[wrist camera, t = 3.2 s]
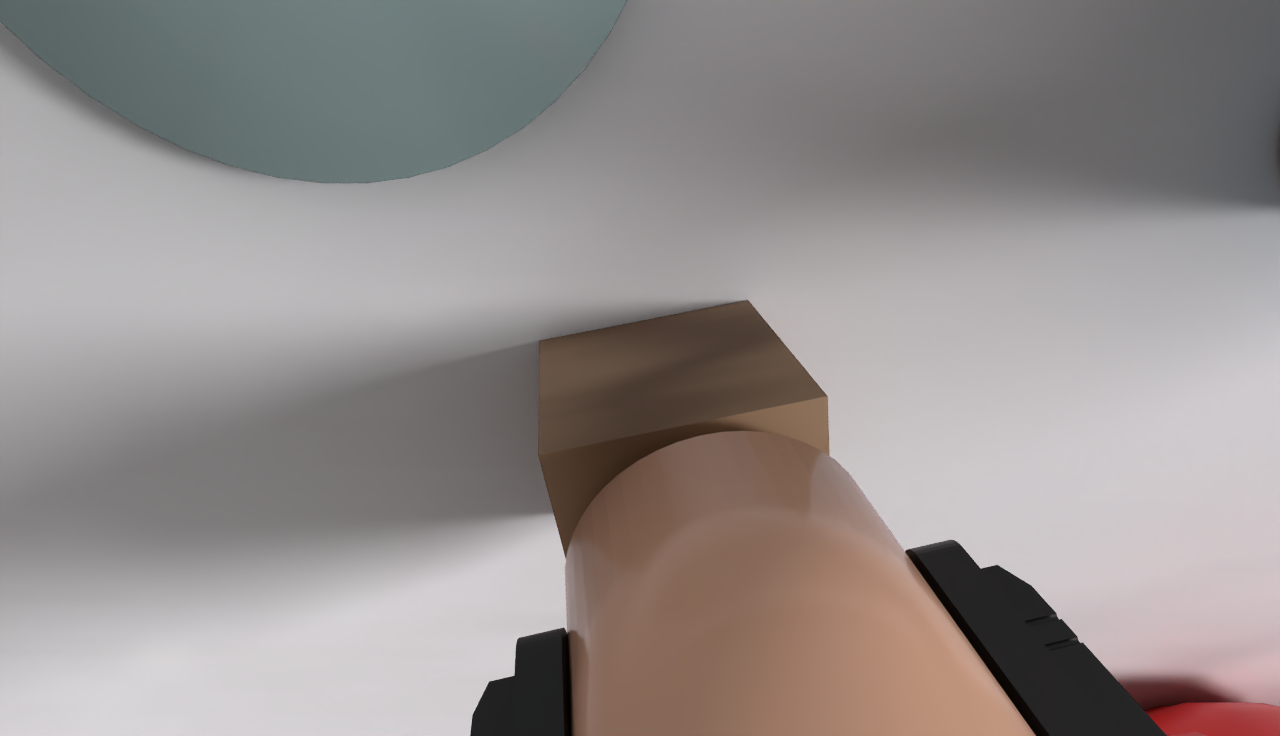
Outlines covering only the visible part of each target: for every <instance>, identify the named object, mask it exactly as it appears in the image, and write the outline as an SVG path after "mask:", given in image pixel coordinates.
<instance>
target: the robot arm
mask: <svg viewBox="0 0 1280 736" xmlns="http://www.w3.org/2000/svg"><path fill="white" fill-rule="evenodd" d="M905 552H906V554H907V555H908V557H909V558H910V559H911V561H912V562H913V564H914V565H915V566H916V568H917V569H918V571H919V572H920V574H921V575H922V576H923V578H924V579H925V581H926V582H927V583H928V585H929V586H930V588H931V589H932V590H933V592H934V593H935V595H936V596H937V597H938V599H939V600H940V602H941V603H942V604H943V606H944V607H945V609H946V610H947V611H948V613H949V614H950V616H951V617H952V618H953V620H954V621H955V623H956V624H957V625H958V627H959V628H960V630H961V631H962V632H963V634H964V635H965V637H966V638H967V640H968V641H969V642H970V644H971V645H972V647H973V648H974V649H975V651H976V652H977V654H978V655H979V656H980V658H981V659H982V661H983V662H984V663H985V665H986V666H987V668H988V669H989V670H990V672H991V673H992V675H993V676H994V677H995V679H996V680H997V682H998V683H999V684H1000V686H1001V687H1002V689H1003V690H1004V691H1005V693H1006V694H1007V696H1008V697H1009V699H1010V700H1011V701H1012V703H1013V704H1014V706H1015V707H1016V708H1017V710H1018V711H1019V713H1020V714H1021V715H1022V717H1023V718H1024V720H1025V721H1026V722H1027V724H1028V725H1029V727H1030V728H1031V729H1032V731H1033V732H1034V734H1035V735H1036V736H1167V735H1166V734H1165V733H1164V732H1163V731H1162V730H1161V729H1160V727H1159V726H1158V725H1157V724H1156V723H1155V722H1154V721H1153V720H1152V719H1151V718H1150V716H1149V715H1148V714H1147V713H1146V712H1145V711H1144V710H1143V709H1142V708H1141V706H1140V705H1139V704H1138V703H1137V702H1136V701H1135V700H1134V699H1133V698H1132V697H1131V695H1130V694H1129V693H1128V692H1127V691H1126V690H1125V689H1124V688H1123V687H1122V685H1121V684H1120V683H1119V682H1118V681H1117V680H1116V679H1115V678H1114V677H1113V676H1112V674H1111V673H1110V672H1109V671H1108V670H1107V669H1106V668H1105V667H1104V666H1103V664H1102V663H1101V662H1100V661H1099V660H1098V659H1097V658H1096V657H1095V656H1094V655H1093V653H1092V652H1091V651H1090V650H1089V649H1088V648H1087V647H1086V646H1085V645H1084V643H1080V642H1079V641H1078V638H1077V636H1076V635H1075V634H1074V632H1073V631H1072V630H1071V629H1070V628H1069V627H1068V626H1067V625H1066V624H1065V622H1064V621H1063V620H1062V619H1060V620H1059V619H1058V617H1057V615H1056V612H1055V611H1054V610H1053V609H1052V608H1051V607H1050V606H1049V605H1048V604H1047V603H1046V601H1045V600H1044V599H1043V598H1042V597H1041V596H1040V595H1039V594H1038V593H1037V591H1036V590H1035V589H1034V588H1033V587H1032V586H1031V585H1029V584H1028V583H1026V582H1024V581H1023V580H1021V579H1019V578H1018V577H1016V576H1014V575H1013V574H1011V573H1010V572H1008V571H1006V570H1005V569H1003V568H1001V567H1000V566H998V565H995V566H991V567H987V568H982V569H980V568H979V566H978V565H977V564H976V563H975V562H974V560H973V559H972V558H971V557H970V556H969V554H968V553H967V552H966V551H965V550H964V548H963V547H962V546H961V545H960V544H959V543H957V542H956V541H954V540H947V541H943V542H939V543H934V544H930V545H926V546H921V547H917V548H913V549H908V550H906V551H905ZM470 736H571V718H570V691H569V664H568V636H567V632H566V630H565V628H560V629H556V630H551V631H547V632H543V633H538V634H534V635H530V636H525V637H521V638H519V639H518V640H517V644H516V659H515V676H512V677H507V678H503V679H499V680H495V681H490V682H489V683H488V685H487V687H486V689H485V691H484V693H483V695H482V697H481V699H480V701H479V703H478V705H477V707H476V709H475V711H474V713H473V717H472V726H471V735H470Z"/></svg>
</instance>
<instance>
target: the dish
mask: <svg viewBox="0 0 1280 736" xmlns="http://www.w3.org/2000/svg"><path fill="white" fill-rule="evenodd" d="M626 1H627V0H0V22H1V23H2V24H4V25H5V26H6V27H7V28H8V29H9V30H10V31H11V32H12V33H13V34H14V35H15V36H17V37H18V38H19V39H20V40H21V41H22V42H23V43H24V44H25V45H26V46H27V47H28V48H30V49H31V50H32V51H33V52H34V53H35V54H36V55H37V56H38V57H39V58H40V59H42V60H43V61H44V62H46V63H47V64H48V65H49V66H51V67H52V68H53V69H55V70H56V71H57V72H59V73H60V74H61V75H63V76H64V77H65V78H66V79H68V80H69V81H70V82H72V83H73V84H74V85H76V86H77V87H78V88H80V89H81V90H82V91H83V92H85V93H86V94H87V95H89V96H90V97H92V98H94V99H95V100H97V101H98V102H100V103H102V104H103V105H105V106H106V107H108V108H110V109H111V110H113V111H114V112H116V113H118V114H119V115H121V116H122V117H124V118H126V119H127V120H129V121H130V122H132V123H134V124H135V125H137V126H139V127H141V128H143V129H145V130H147V131H149V132H151V133H153V134H155V135H157V136H159V137H161V138H163V139H165V140H167V141H170V142H172V143H174V144H176V145H178V146H180V147H182V148H184V149H186V150H189V151H192V152H194V153H197V154H200V155H203V156H205V157H208V158H211V159H214V160H216V161H219V162H222V163H224V164H227V165H230V166H233V167H237V168H241V169H245V170H249V171H253V172H257V173H262V174H266V175H270V176H274V177H278V178H286V179H294V180H302V181H310V182H318V183H371V182H379V181H386V180H394V179H401V178H409V177H413V176H416V175H420V174H423V173H427V172H431V171H434V170H438V169H442V168H445V167H449V166H451V165H454V164H456V163H458V162H461V161H463V160H465V159H467V158H470V157H472V156H474V155H477V154H479V153H481V152H484V151H486V150H488V149H489V148H491V147H493V146H494V145H496V144H498V143H499V142H501V141H503V140H504V139H506V138H507V137H509V136H511V135H512V134H514V133H516V132H517V131H519V130H521V129H522V128H523V127H525V126H526V125H527V124H528V123H529V122H531V121H532V120H533V119H534V118H535V117H537V116H538V115H539V114H540V113H542V112H543V111H544V110H545V109H546V108H548V107H549V106H550V105H551V104H552V103H554V102H555V101H556V100H557V99H558V97H559V96H560V95H561V94H562V93H563V92H564V91H565V90H566V89H567V88H568V87H569V85H570V84H571V83H572V82H573V81H574V80H575V79H576V78H577V77H578V76H579V75H580V74H581V72H582V71H583V70H584V69H585V68H586V66H587V65H588V63H589V62H590V60H591V59H592V58H593V56H594V55H595V53H596V52H597V50H598V49H599V48H600V46H601V45H602V43H603V42H604V40H605V39H606V38H607V36H608V35H609V33H610V32H611V30H612V28H613V26H614V24H615V22H616V20H617V18H618V16H619V14H620V12H621V11H622V9H623V7H624V5H625V3H626Z"/></svg>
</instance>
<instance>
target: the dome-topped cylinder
mask: <svg viewBox="0 0 1280 736" xmlns="http://www.w3.org/2000/svg"><path fill="white" fill-rule="evenodd" d="M565 582H566V609H567V636H568V664H569V691H570V718H571V736H1036V735H1035V734H1034V732H1033V731H1032V729H1031V728H1030V727H1029V725H1028V724H1027V722H1026V721H1025V720H1024V718H1023V717H1022V715H1021V714H1020V713H1019V711H1018V710H1017V708H1016V707H1015V706H1014V704H1013V703H1012V701H1011V700H1010V699H1009V697H1008V696H1007V694H1006V693H1005V691H1004V690H1003V689H1002V687H1001V686H1000V684H999V683H998V682H997V680H996V679H995V677H994V676H993V675H992V673H991V672H990V670H989V669H988V668H987V666H986V665H985V663H984V662H983V661H982V659H981V658H980V656H979V655H978V654H977V652H976V651H975V649H974V648H973V647H972V645H971V644H970V642H969V641H968V640H967V638H966V637H965V635H964V634H963V632H962V631H961V630H960V628H959V627H958V625H957V624H956V623H955V621H954V620H953V618H952V617H951V616H950V614H949V613H948V611H947V610H946V609H945V607H944V606H943V604H942V603H941V602H940V600H939V599H938V597H937V596H936V595H935V593H934V592H933V590H932V589H931V588H930V586H929V585H928V583H927V582H926V581H925V579H924V578H923V576H922V575H921V574H920V572H919V571H918V569H917V568H916V566H915V565H914V564H913V562H912V561H911V559H910V558H909V557H908V555H907V554H906V552H905V551H904V550H903V548H902V547H901V545H900V544H899V543H898V541H897V540H896V538H895V537H894V536H893V534H892V533H891V531H890V530H889V529H888V527H887V526H886V524H885V523H884V522H883V520H882V519H881V517H880V516H879V515H878V513H877V512H876V510H875V509H874V508H873V506H872V505H871V503H870V502H869V500H868V499H867V498H866V496H865V495H864V493H863V492H862V491H861V489H860V488H859V486H858V485H857V484H856V482H855V481H854V480H853V478H852V477H851V476H850V474H849V473H848V472H847V471H846V470H845V469H844V468H843V467H842V466H841V465H840V464H839V463H838V462H837V461H836V460H834V459H833V458H831V457H830V456H829V455H827V454H826V453H824V452H823V451H821V450H819V449H817V448H815V447H813V446H811V445H809V444H807V443H805V442H803V441H800V440H797V439H793V438H790V437H787V436H783V435H778V434H773V433H768V432H756V431H730V432H719V433H713V434H707V435H700V436H697V437H693V438H690V439H686V440H683V441H679V442H676V443H674V444H671V445H669V446H667V447H664V448H662V449H659V450H657V451H655V452H653V453H651V454H649V455H648V456H646V457H644V458H642V459H640V460H638V461H637V462H635V463H634V464H632V465H631V466H630V467H628V468H627V469H625V470H624V471H622V472H621V473H620V474H618V475H617V476H616V477H615V478H614V479H613V480H612V481H611V482H610V483H608V484H607V485H606V486H605V487H604V488H603V489H602V490H601V491H600V493H599V494H598V495H597V496H596V497H595V498H594V499H593V501H592V502H591V503H590V504H589V506H588V507H587V509H586V511H585V512H584V514H583V515H582V517H581V518H580V520H579V522H578V524H577V526H576V528H575V530H574V533H573V535H572V538H571V541H570V544H569V548H568V551H567V557H566V565H565Z"/></svg>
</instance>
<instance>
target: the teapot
mask: <svg viewBox="0 0 1280 736" xmlns="http://www.w3.org/2000/svg"><path fill="white" fill-rule="evenodd" d="M1145 712H1146V713H1147V714H1148V715H1149V716H1150V718H1151V719H1152V720H1153V721H1154V722H1155V723H1156V724H1157V725H1158V726H1159V727H1160V729H1161V730H1162V731H1163V732H1164V733H1165V734H1166V735H1167V736H1280V707H1277V706H1273V705H1268V704H1262V703H1241V702H1206V703H1181V704H1178V705H1174V706H1161V707H1157V708H1154V709H1150V710H1147V711H1145Z"/></svg>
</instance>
